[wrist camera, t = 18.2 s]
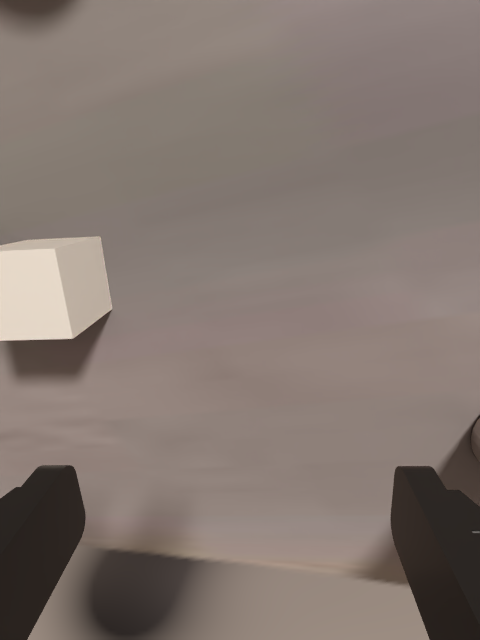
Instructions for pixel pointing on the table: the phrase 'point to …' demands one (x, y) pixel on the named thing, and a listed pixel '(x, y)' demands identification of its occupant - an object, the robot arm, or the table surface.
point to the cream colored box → (52, 288)
